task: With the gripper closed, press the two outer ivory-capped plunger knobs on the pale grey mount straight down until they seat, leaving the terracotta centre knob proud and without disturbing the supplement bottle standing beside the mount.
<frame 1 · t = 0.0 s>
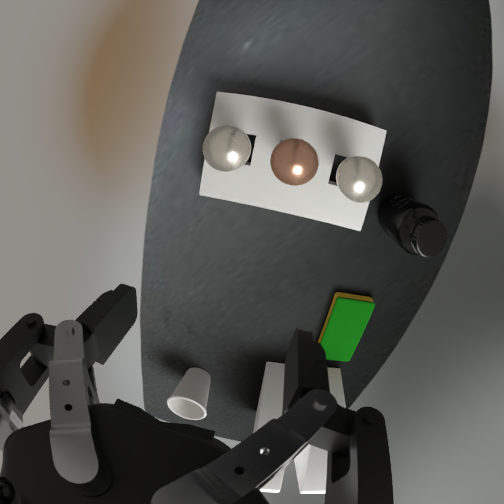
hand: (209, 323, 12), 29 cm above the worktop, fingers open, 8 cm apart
supplement bottle: (396, 213, 38), on the worktop
milk carton: (294, 392, 55), on the worktop
knob 2: (354, 176, 28), point 9 cm above the worktop, slide at 0.0 cm
dixie cup: (198, 375, 56), on the worktop
dish sponge: (342, 324, 47), on the worktop
mount: (292, 157, 36), on the worktop
knob 1: (230, 148, 28), point 9 cm above the worktop, slide at 0.0 cm
knob centre: (293, 160, 28), point 9 cm above the worktop, slide at 0.0 cm
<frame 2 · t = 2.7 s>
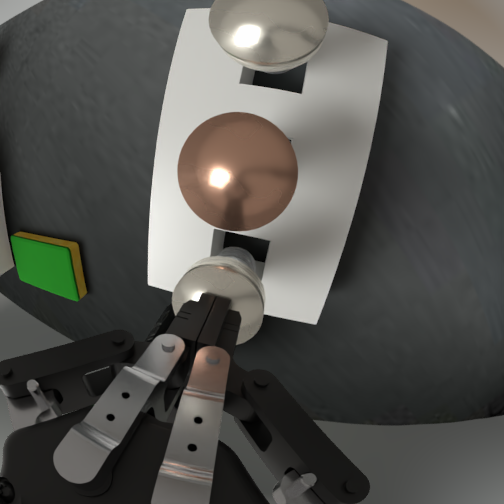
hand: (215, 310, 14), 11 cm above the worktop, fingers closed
supplement bottle: (194, 322, 29), on the worktop
knob 2: (226, 285, 16), point 9 cm above the worktop, slide at 0.7 cm, touching gripper
dish sponge: (51, 259, 29), on the worktop
mount: (262, 158, 21), on the worktop
knob 1: (272, 36, 10), point 9 cm above the worktop, slide at 0.0 cm
knob centre: (245, 166, 13), point 9 cm above the worktop, slide at 0.0 cm
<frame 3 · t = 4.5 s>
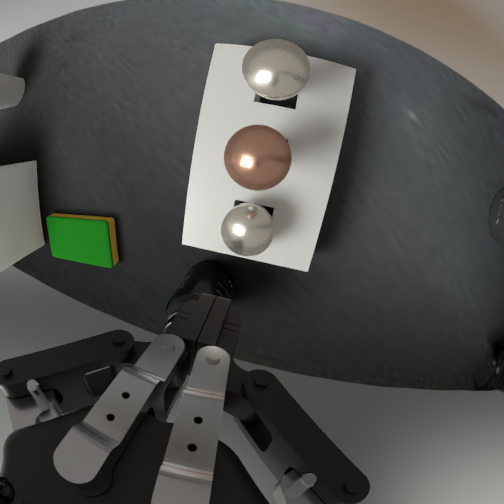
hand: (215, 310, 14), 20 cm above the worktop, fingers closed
supplement bottle: (211, 281, 37), on the worktop
milk carton: (14, 202, 36), on the worktop
knob 2: (250, 223, 27), point 5 cm above the worktop, slide at 3.9 cm
dixie cup: (18, 91, 28), on the worktop
dish sponge: (85, 235, 37), on the worktop
mount: (267, 153, 29), on the worktop
knob 1: (277, 75, 18), point 9 cm above the worktop, slide at 0.0 cm
knob centre: (260, 156, 21), point 9 cm above the worktop, slide at 0.0 cm
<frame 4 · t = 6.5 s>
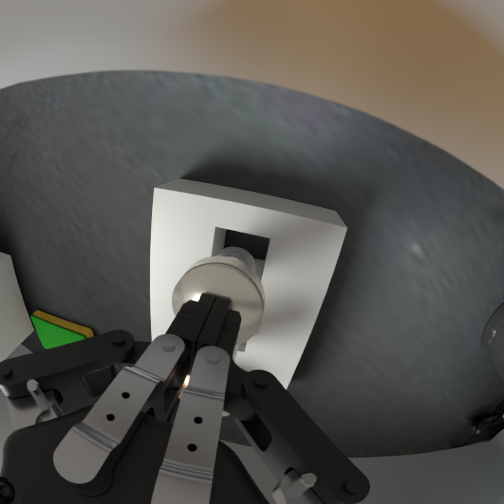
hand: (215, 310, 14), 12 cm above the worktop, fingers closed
knob 2: (216, 382, 25), point 5 cm above the worktop, slide at 3.9 cm
dish sponge: (69, 334, 35), on the worktop
mount: (235, 300, 27), on the worktop
knob 1: (226, 285, 16), point 9 cm above the worktop, slide at 0.2 cm, touching gripper
knob centre: (213, 365, 19), point 9 cm above the worktop, slide at 0.0 cm
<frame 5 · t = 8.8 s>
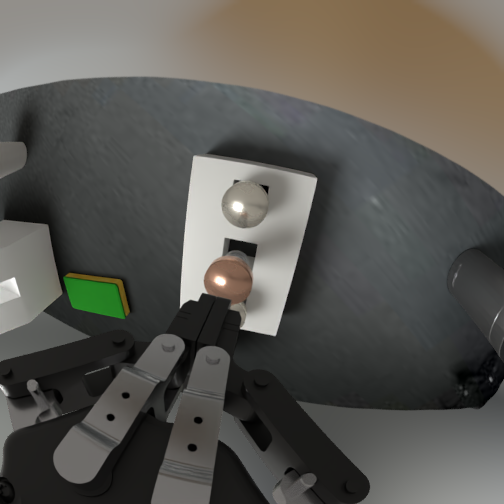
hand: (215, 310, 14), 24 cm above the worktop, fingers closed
milk carton: (30, 254, 45), on the worktop
knob 2: (230, 304, 35), point 5 cm above the worktop, slide at 3.9 cm
dixie cup: (20, 155, 36), on the worktop
dish sponge: (98, 290, 45), on the worktop
mount: (244, 241, 38), on the worktop
knob 1: (248, 200, 30), point 5 cm above the worktop, slide at 3.9 cm
knob centre: (232, 271, 29), point 9 cm above the worktop, slide at 0.0 cm
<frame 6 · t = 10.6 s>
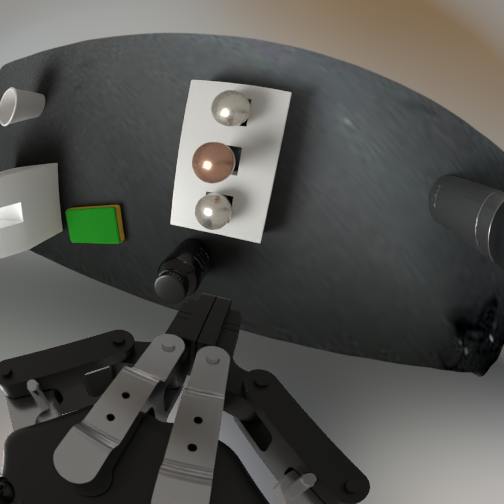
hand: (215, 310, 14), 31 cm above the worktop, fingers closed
supplement bottle: (194, 256, 48), on the worktop
milk carton: (36, 196, 48), on the worktop
knob 2: (217, 207, 38), point 5 cm above the worktop, slide at 3.9 cm
dixie cup: (38, 105, 39), on the worktop
dish sponge: (97, 222, 48), on the worktop
mount: (232, 157, 40), on the worktop
knob 1: (234, 110, 33), point 5 cm above the worktop, slide at 3.9 cm
knob centre: (217, 161, 32), point 9 cm above the worktop, slide at 0.0 cm
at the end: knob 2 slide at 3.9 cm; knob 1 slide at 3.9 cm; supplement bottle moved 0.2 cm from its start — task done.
